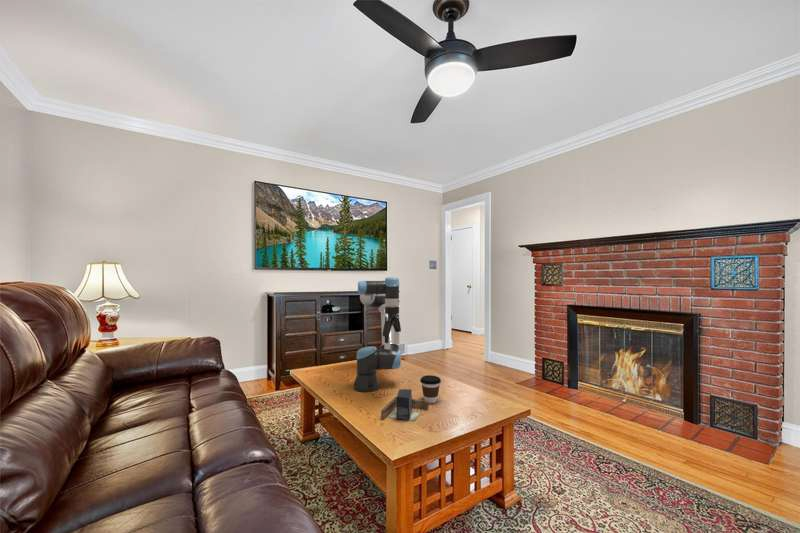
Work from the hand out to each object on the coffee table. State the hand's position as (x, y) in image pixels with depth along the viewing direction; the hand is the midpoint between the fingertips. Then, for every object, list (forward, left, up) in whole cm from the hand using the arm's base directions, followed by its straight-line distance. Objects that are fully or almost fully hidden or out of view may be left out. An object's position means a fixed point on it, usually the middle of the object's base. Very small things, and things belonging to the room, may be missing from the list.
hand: (392, 346), depth 175 cm
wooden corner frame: (+12, -13, -29) cm, 34 cm away
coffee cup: (+19, +7, -29) cm, 35 cm away
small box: (+12, -15, -29) cm, 34 cm away
